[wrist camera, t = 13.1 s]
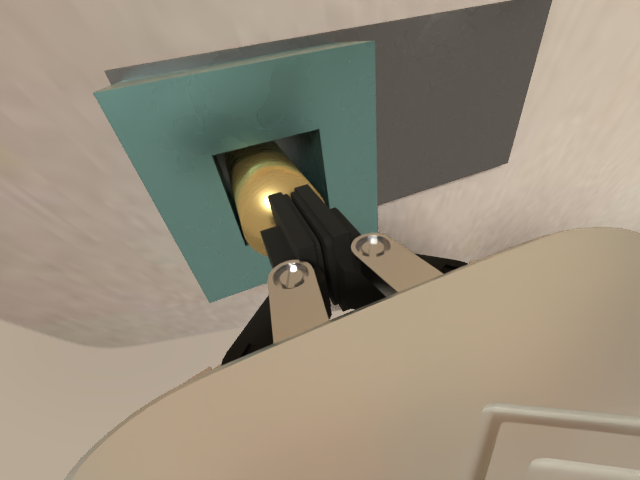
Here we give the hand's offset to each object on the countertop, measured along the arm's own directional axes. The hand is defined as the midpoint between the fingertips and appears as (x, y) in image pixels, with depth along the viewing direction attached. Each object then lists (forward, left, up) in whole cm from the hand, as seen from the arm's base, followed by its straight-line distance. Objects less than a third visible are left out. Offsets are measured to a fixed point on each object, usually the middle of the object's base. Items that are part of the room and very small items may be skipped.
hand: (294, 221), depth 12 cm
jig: (-8, 0, -9) cm, 12 cm away
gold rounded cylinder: (0, 0, -8) cm, 8 cm away
